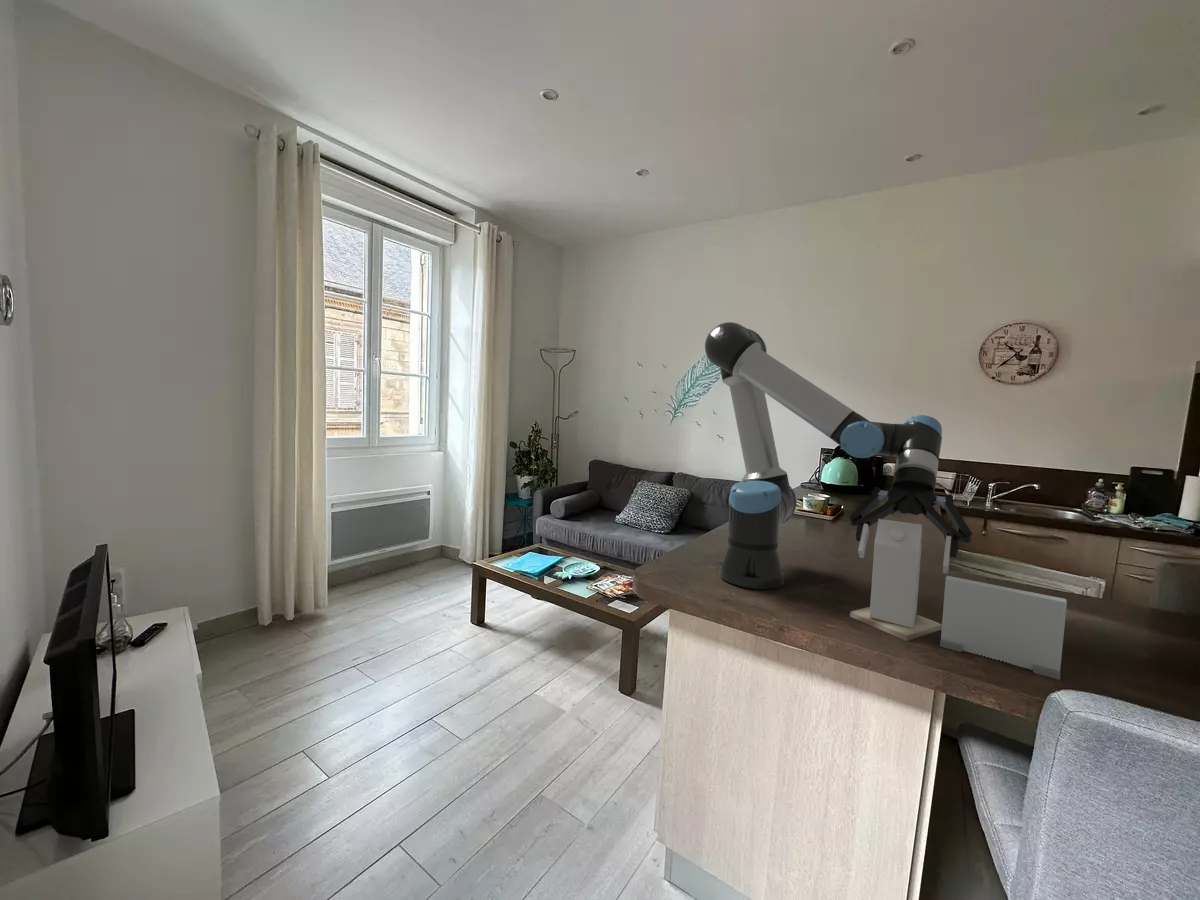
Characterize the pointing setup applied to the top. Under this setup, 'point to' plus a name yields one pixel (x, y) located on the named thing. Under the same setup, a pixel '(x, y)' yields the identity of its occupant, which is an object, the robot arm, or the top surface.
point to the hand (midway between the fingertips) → (901, 562)
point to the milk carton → (896, 572)
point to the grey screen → (1004, 624)
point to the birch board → (903, 632)
